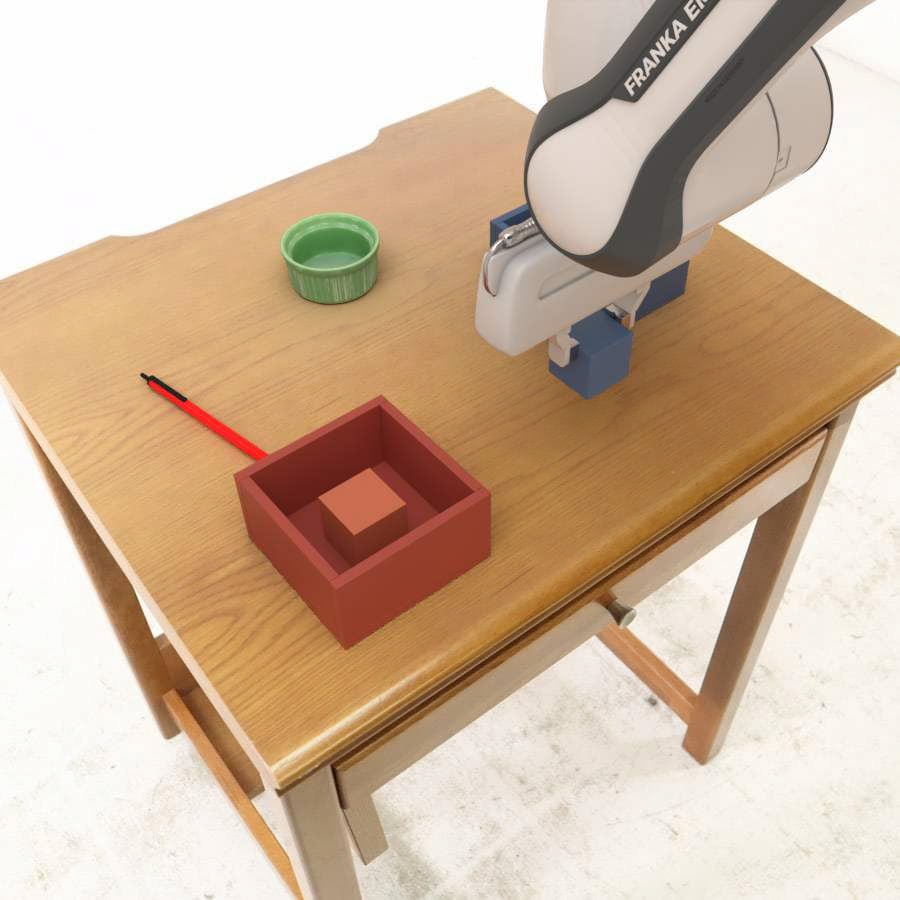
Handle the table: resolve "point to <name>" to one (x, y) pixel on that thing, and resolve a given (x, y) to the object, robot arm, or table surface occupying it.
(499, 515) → the table surface
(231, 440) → the pen
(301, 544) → the red bin
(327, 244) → the ramekin
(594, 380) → the blue block
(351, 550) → the terracotta block
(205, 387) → the table surface
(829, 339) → the table surface
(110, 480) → the table surface
